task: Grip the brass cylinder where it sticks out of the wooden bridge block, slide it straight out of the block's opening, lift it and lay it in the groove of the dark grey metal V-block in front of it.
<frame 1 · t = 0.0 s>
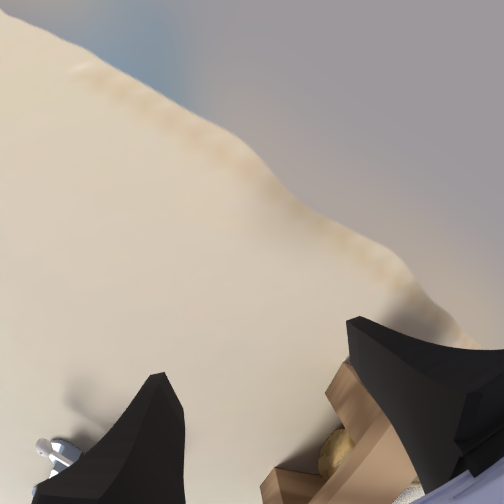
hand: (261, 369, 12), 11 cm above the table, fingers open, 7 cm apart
brass cylinder: (375, 447, 26), on the table
vise: (82, 483, 23), on the table
wooden bridge block: (327, 440, 24), on the table
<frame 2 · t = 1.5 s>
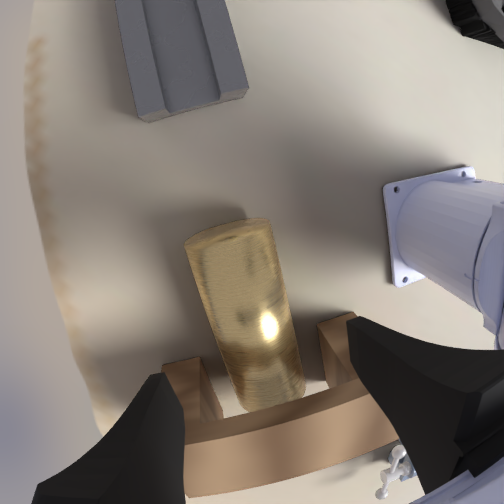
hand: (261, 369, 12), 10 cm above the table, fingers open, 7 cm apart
brass cylinder: (248, 305, 22), on the table
v block: (176, 33, 17), on the table
vise: (431, 426, 31), on the table
wooden bridge block: (267, 371, 24), on the table
cpu cooler: (471, 3, 18), on the table
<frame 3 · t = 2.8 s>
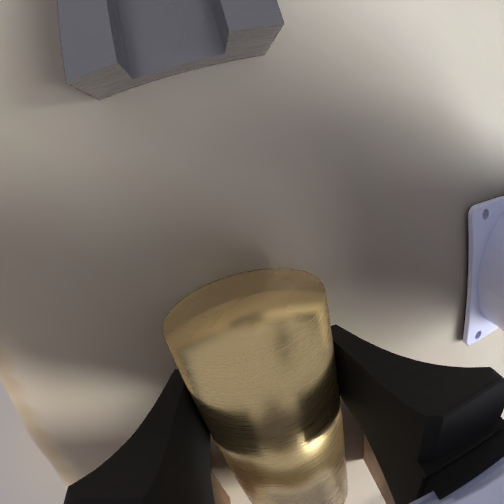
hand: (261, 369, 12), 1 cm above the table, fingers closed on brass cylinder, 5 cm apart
brass cylinder: (269, 391, 14), on the table, touching gripper
wooden bridge block: (290, 459, 16), on the table
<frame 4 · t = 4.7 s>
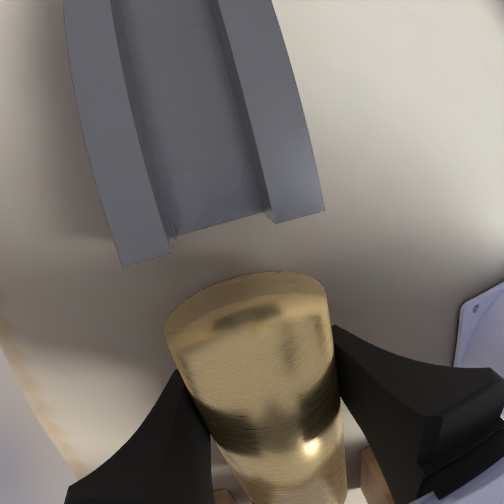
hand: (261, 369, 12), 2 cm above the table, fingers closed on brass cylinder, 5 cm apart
brass cylinder: (269, 393, 14), on the table, touching gripper
v block: (181, 75, 10), on the table
wooden bridge block: (300, 491, 18), on the table
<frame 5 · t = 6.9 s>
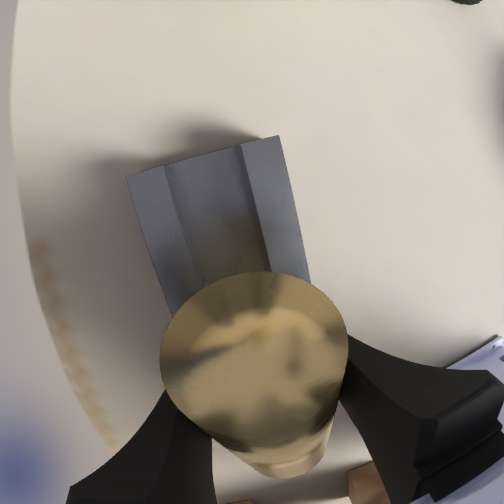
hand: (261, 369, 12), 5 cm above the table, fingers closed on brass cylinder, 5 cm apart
brass cylinder: (251, 365, 14), point 3 cm above the table, tilted 27°, touching gripper, v block
v block: (232, 264, 16), on the table
wooden bridge block: (303, 499, 24), on the table
when the fingers open (5 cm above the table, at t = 7.3 s): brass cylinder stays where it is, resting on v block.
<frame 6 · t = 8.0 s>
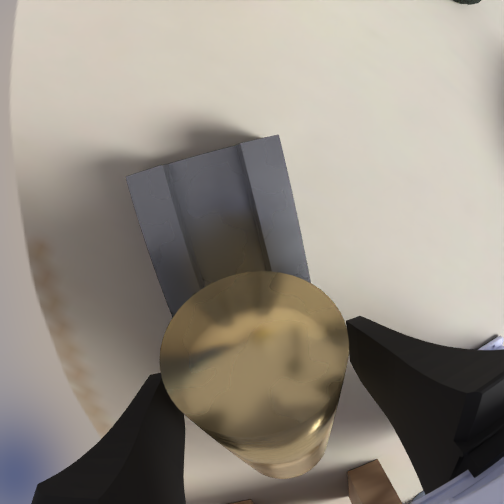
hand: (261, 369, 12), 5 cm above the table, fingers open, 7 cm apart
brass cylinder: (250, 365, 14), point 3 cm above the table, tilted 27°, touching v block
v block: (231, 264, 16), on the table
wooden bridge block: (303, 499, 24), on the table
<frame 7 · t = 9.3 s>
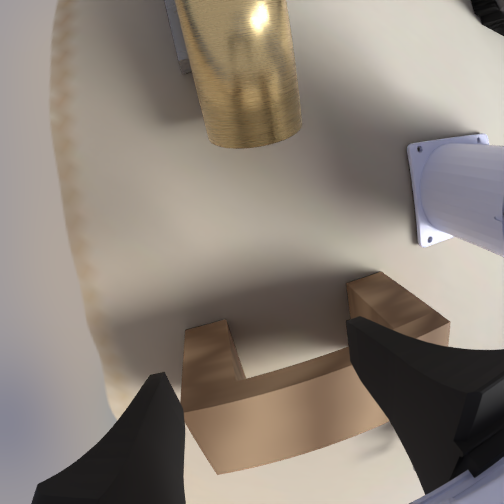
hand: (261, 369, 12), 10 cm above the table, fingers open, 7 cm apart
brass cylinder: (218, 20, 14), point 3 cm above the table, tilted 27°, touching v block
wooden bridge block: (295, 335, 24), on the table
cpu cooler: (491, 1, 18), on the table
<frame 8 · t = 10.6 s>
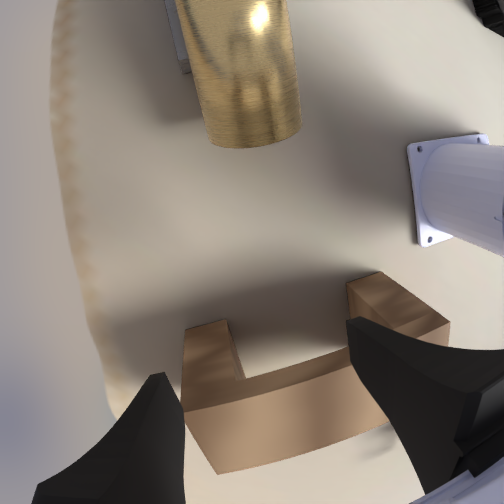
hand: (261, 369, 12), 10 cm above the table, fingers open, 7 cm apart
brass cylinder: (218, 20, 14), point 3 cm above the table, tilted 27°, touching v block
wooden bridge block: (295, 335, 24), on the table
cpu cooler: (494, 4, 18), on the table
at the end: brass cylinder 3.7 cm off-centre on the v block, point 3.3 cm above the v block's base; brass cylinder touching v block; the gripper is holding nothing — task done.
